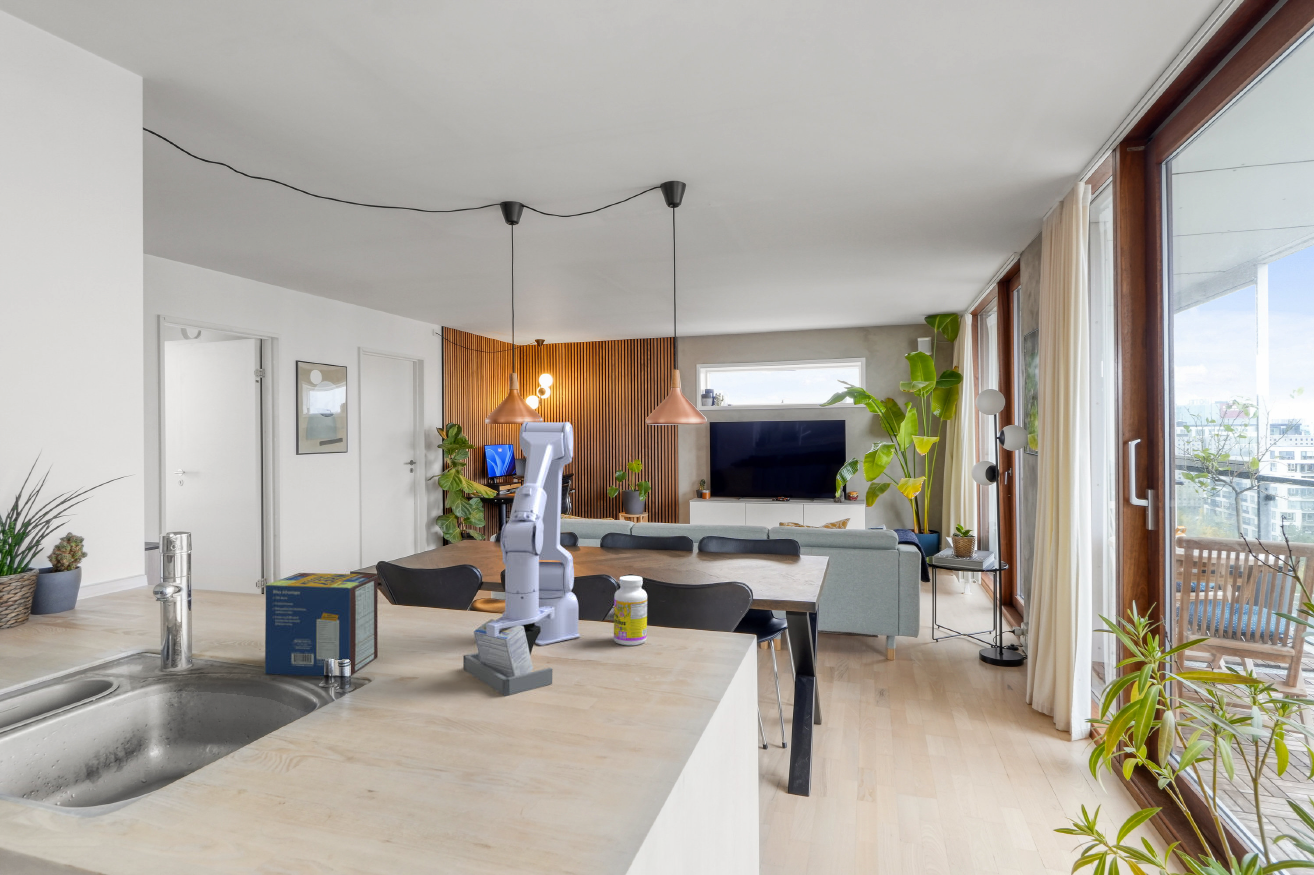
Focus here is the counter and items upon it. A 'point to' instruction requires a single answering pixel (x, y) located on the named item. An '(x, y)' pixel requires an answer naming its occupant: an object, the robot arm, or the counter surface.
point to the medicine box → (504, 650)
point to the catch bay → (501, 682)
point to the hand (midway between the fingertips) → (521, 668)
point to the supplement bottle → (630, 612)
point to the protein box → (320, 622)
